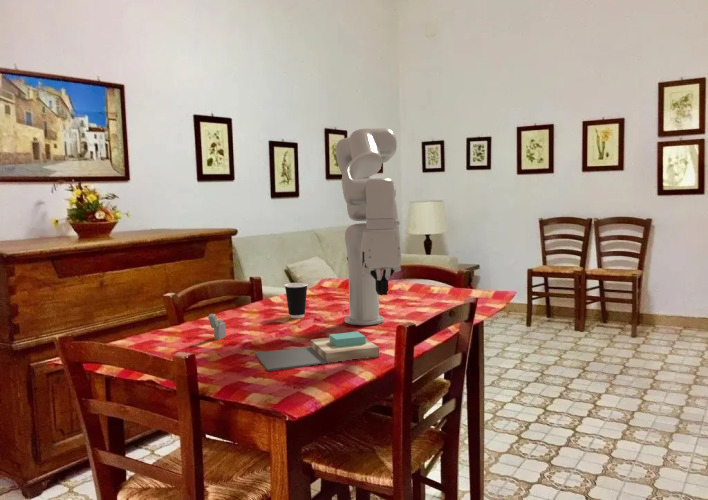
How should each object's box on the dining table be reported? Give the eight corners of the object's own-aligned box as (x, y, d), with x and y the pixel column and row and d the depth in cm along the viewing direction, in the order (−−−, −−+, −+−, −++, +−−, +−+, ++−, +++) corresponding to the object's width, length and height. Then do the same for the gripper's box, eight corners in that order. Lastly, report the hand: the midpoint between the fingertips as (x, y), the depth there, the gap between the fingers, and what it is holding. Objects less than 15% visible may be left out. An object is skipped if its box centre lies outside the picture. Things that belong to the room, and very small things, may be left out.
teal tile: (329, 341, 163) (329, 334, 163) (357, 338, 166) (357, 331, 165) (336, 347, 157) (336, 339, 157) (365, 343, 160) (365, 336, 160)
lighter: (220, 335, 183) (219, 309, 182) (226, 336, 183) (224, 309, 182) (209, 341, 176) (207, 314, 175) (214, 342, 176) (213, 314, 175)
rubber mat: (255, 354, 162) (255, 352, 161) (310, 348, 167) (310, 346, 166) (267, 371, 147) (267, 369, 146) (327, 363, 152) (327, 361, 151)
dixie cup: (313, 315, 209) (312, 283, 208) (300, 320, 202) (299, 287, 201) (294, 313, 213) (292, 282, 212) (280, 318, 206) (279, 285, 205)
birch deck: (310, 348, 166) (310, 339, 166) (359, 343, 171) (359, 334, 170) (327, 363, 152) (326, 353, 152) (379, 356, 157) (379, 347, 156)
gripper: (400, 224, 167) (402, 290, 169) (349, 226, 163) (350, 294, 164) (412, 224, 160) (413, 294, 162) (358, 227, 155) (360, 298, 157)
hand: (382, 294), depth 163 cm, fingers closed
